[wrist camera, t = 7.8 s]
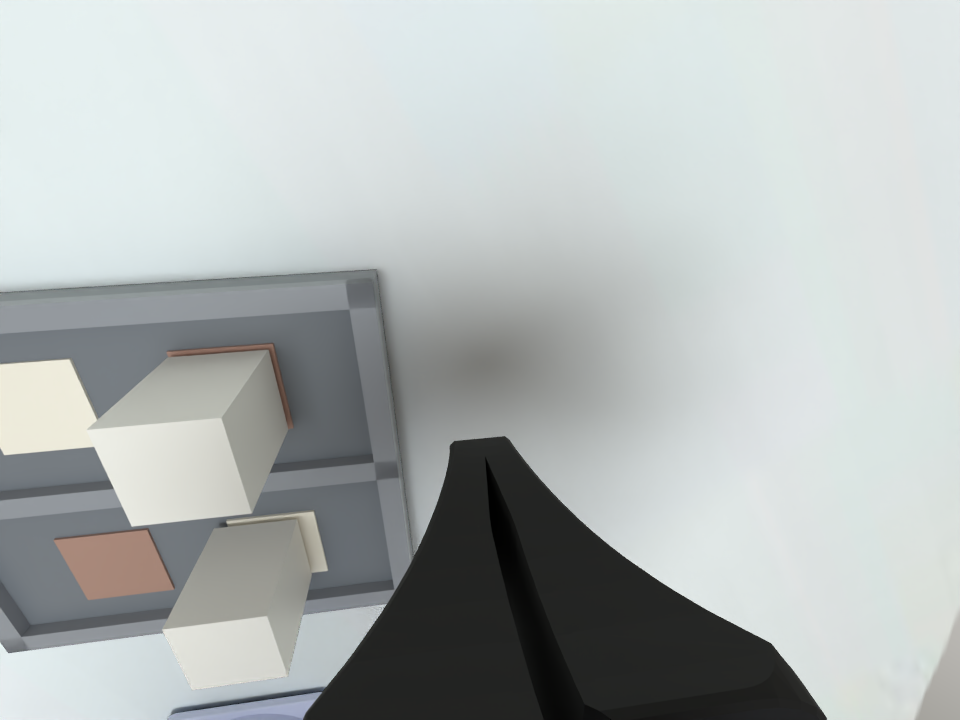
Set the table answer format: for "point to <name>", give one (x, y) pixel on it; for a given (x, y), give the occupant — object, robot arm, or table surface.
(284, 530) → the tab
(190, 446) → the tab
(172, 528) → the grey sorting tray
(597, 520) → the table surface
